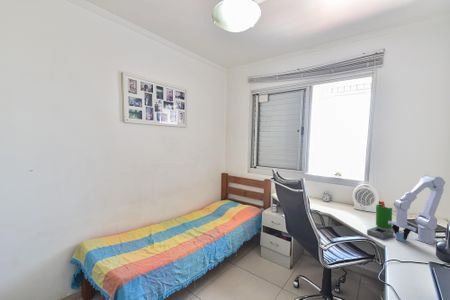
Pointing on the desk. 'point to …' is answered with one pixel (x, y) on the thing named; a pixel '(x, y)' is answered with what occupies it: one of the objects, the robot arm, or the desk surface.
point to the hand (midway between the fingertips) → (401, 237)
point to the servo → (400, 236)
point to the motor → (383, 215)
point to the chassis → (380, 232)
